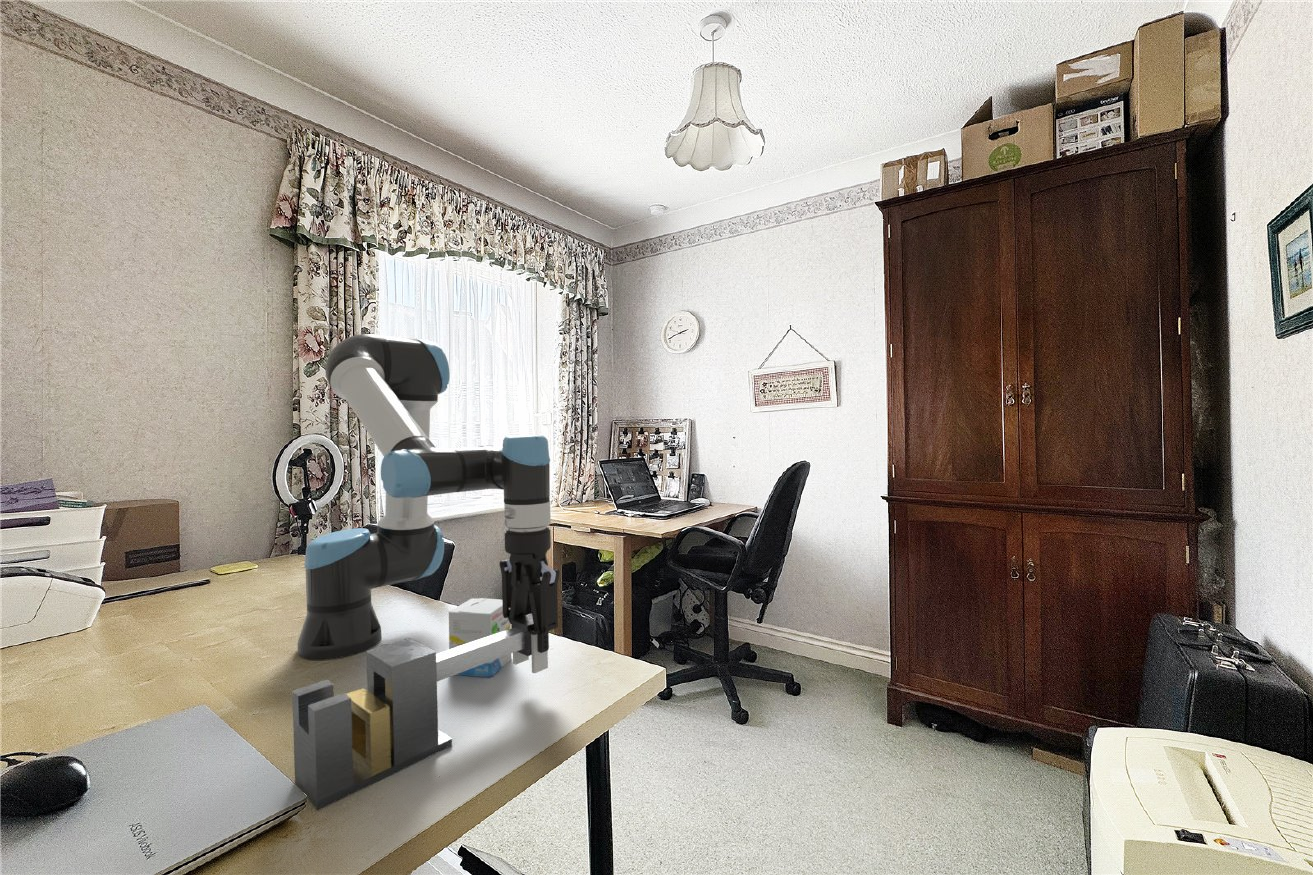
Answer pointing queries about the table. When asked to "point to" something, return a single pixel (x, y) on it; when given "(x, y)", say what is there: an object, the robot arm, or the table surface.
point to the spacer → (370, 732)
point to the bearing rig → (326, 723)
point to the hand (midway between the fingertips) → (530, 665)
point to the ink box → (478, 629)
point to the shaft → (486, 649)
